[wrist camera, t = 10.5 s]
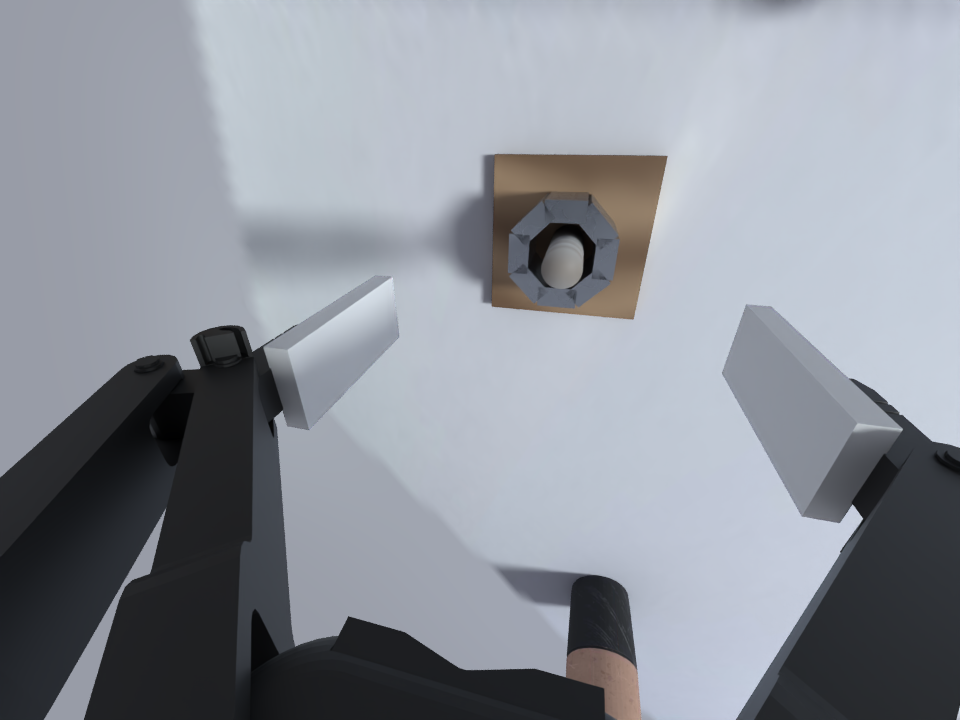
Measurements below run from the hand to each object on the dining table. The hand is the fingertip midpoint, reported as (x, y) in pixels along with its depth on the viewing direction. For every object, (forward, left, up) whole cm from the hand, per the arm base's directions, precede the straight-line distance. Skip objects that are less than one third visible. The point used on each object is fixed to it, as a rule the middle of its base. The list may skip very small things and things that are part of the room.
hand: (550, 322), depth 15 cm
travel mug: (+46, +9, -19) cm, 50 cm away
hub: (+1, 0, -18) cm, 18 cm away
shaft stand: (+1, 0, -19) cm, 19 cm away
